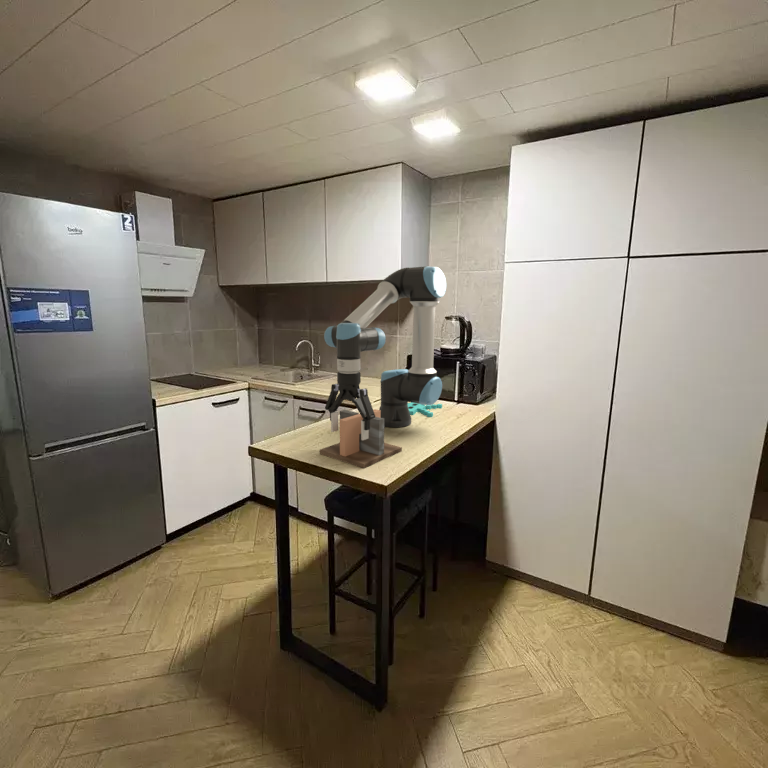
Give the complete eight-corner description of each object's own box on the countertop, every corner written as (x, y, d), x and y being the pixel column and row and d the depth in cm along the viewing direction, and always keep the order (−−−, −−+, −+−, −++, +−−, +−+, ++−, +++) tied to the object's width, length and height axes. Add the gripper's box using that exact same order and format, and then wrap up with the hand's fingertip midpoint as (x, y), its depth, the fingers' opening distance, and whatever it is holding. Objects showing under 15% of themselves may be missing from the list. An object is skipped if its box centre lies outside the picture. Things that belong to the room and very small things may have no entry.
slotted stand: (359, 439, 158) (359, 404, 156) (401, 451, 146) (402, 413, 143) (319, 453, 143) (319, 415, 140) (363, 468, 130) (363, 426, 128)
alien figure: (442, 408, 209) (404, 404, 216) (442, 404, 209) (404, 400, 216) (431, 418, 191) (390, 413, 198) (431, 413, 190) (390, 409, 198)
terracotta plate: (374, 441, 152) (375, 409, 149) (380, 442, 150) (380, 410, 148) (339, 454, 138) (339, 419, 135) (345, 456, 136) (345, 420, 134)
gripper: (313, 369, 139) (315, 430, 143) (370, 377, 124) (370, 446, 128) (330, 366, 145) (331, 425, 149) (386, 374, 129) (386, 439, 134)
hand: (349, 435), depth 138 cm, fingers open, 13 cm apart
